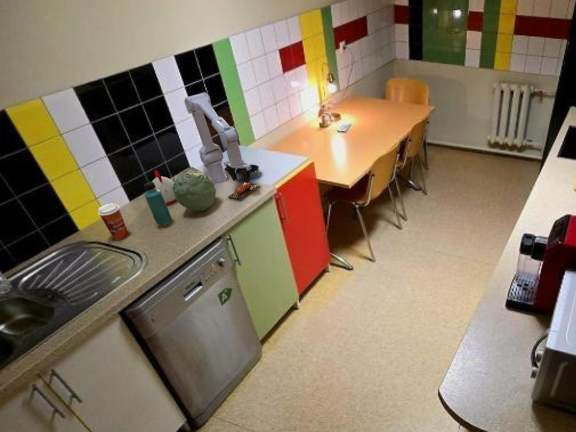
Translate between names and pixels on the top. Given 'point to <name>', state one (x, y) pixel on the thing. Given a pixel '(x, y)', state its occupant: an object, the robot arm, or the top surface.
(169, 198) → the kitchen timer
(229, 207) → the top surface
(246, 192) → the board
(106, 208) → the paper cup
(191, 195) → the cabbage
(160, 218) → the beverage bottle
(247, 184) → the hot dog
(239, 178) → the dark blue bowl
